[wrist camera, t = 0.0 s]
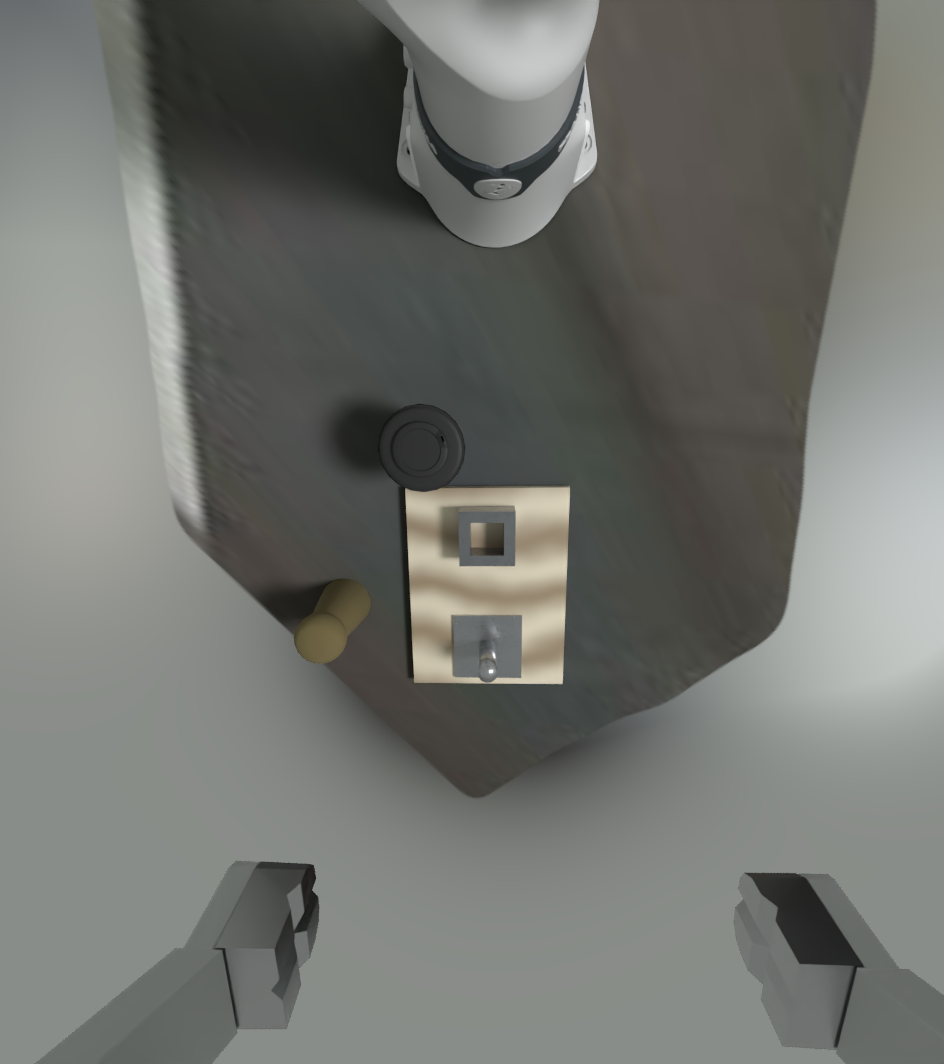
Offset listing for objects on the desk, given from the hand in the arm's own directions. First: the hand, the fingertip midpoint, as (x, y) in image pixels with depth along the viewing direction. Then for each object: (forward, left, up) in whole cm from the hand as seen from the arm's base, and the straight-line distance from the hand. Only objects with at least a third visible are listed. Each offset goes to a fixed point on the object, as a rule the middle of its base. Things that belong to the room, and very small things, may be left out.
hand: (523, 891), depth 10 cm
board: (+12, -1, -48) cm, 50 cm away
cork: (+14, -18, -48) cm, 53 cm away
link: (+5, -1, -47) cm, 47 cm away
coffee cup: (-5, -7, -48) cm, 49 cm away
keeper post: (+19, -1, -47) cm, 51 cm away
